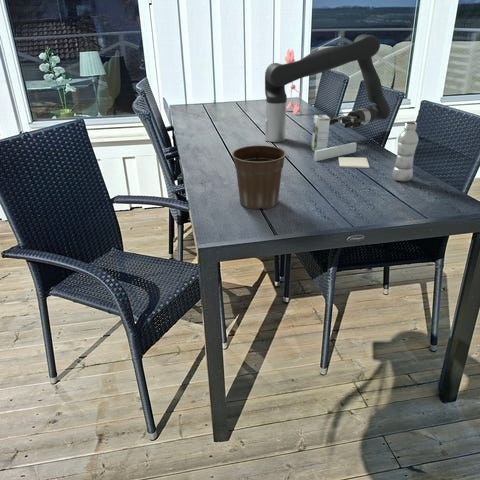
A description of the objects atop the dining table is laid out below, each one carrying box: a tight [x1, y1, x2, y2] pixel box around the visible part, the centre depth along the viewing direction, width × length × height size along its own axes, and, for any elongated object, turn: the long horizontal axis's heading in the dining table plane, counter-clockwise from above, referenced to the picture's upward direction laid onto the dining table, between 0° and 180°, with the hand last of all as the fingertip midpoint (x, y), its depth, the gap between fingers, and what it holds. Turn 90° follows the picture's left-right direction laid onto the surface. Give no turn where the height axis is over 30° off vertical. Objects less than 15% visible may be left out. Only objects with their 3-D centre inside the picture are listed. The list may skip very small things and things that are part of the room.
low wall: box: [313, 141, 357, 162], centre depth 175 cm, size 22×1×4 cm, turn 122°
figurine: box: [284, 48, 302, 118], centre depth 242 cm, size 15×26×35 cm, turn 16°
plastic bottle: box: [392, 121, 419, 182], centre depth 145 cm, size 6×7×20 cm
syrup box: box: [310, 114, 331, 153], centre depth 181 cm, size 6×6×14 cm
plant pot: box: [231, 144, 287, 210], centre depth 131 cm, size 16×16×16 cm
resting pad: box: [337, 156, 370, 169], centre depth 168 cm, size 11×11×1 cm
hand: (337, 124), depth 186 cm, fingers open, 8 cm apart
